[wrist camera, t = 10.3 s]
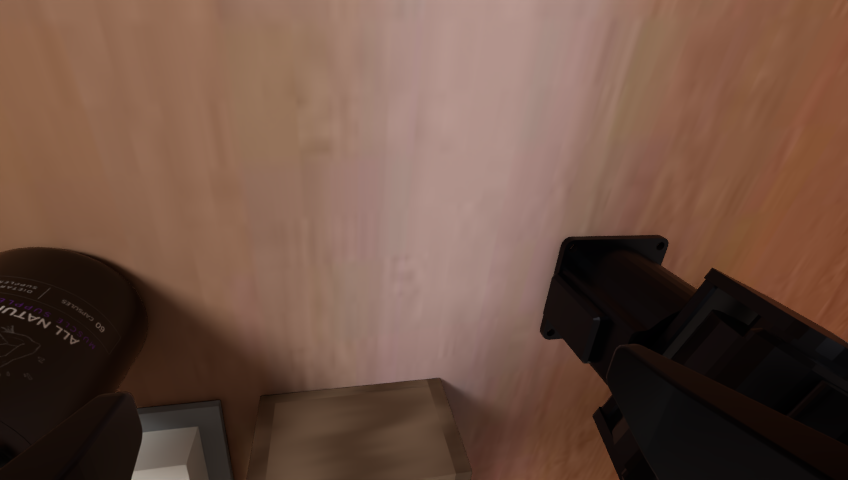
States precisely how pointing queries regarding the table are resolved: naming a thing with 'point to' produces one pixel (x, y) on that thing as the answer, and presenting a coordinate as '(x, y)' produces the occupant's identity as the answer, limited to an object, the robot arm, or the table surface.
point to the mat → (209, 429)
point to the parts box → (359, 435)
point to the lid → (171, 456)
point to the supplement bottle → (60, 339)
